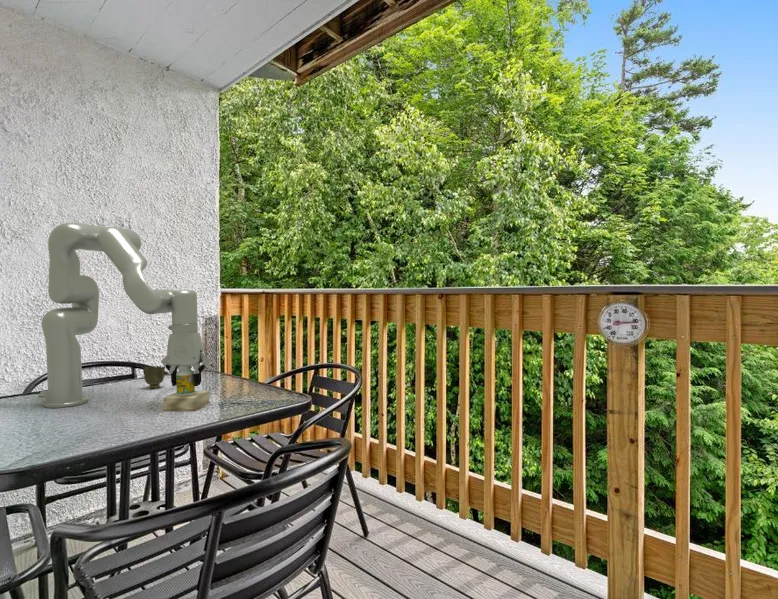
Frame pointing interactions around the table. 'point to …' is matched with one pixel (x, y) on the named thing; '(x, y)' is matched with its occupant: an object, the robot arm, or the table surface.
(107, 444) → the table surface
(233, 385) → the table surface
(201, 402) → the base block
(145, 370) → the cup
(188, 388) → the supplement bottle
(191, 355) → the robot arm
